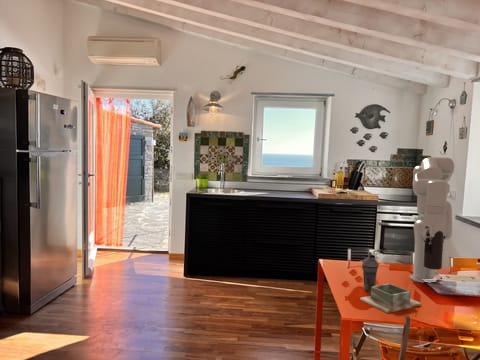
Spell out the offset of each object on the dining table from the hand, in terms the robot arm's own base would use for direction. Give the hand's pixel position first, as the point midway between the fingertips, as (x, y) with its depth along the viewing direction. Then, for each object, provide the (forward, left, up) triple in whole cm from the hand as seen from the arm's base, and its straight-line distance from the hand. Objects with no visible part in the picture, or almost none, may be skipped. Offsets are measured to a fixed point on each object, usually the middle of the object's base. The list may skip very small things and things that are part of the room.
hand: (433, 252), depth 155 cm
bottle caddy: (+13, -10, -23) cm, 29 cm away
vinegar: (0, 0, -7) cm, 7 cm away
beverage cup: (+9, -26, -24) cm, 36 cm away
